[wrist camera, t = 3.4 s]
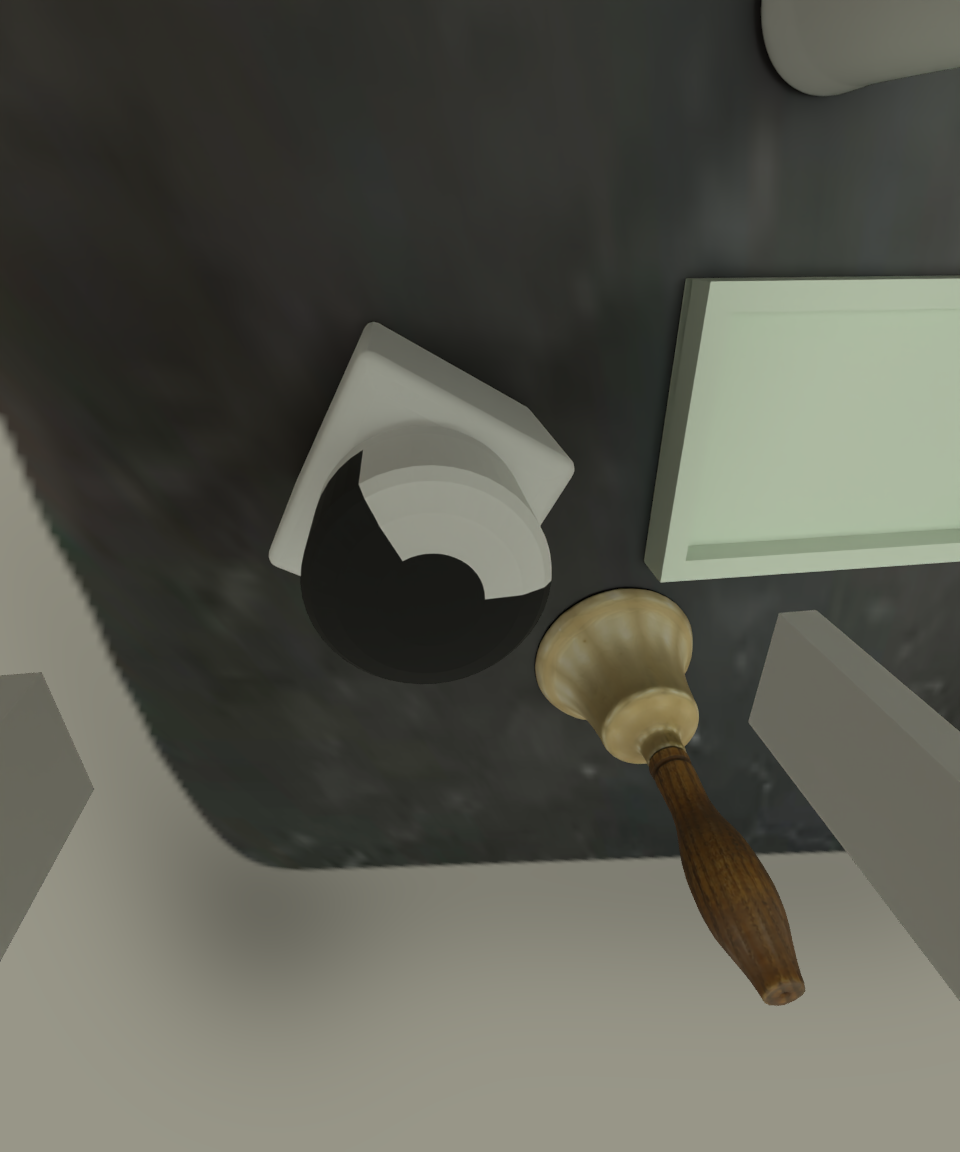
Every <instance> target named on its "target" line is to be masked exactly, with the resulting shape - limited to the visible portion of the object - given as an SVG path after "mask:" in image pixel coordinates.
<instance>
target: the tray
mask: <svg viewBox="0 0 960 1152" xmlns="http://www.w3.org/2000/svg"><path fill="white" fill-rule="evenodd" d="M957 561H960V275H941V276H851V277H760V278H686V281H685V288H684V295H683V301H682V308H681V315H680V322H679V328H678V335H677V342H676V348H675V355H674V362H673V369H672V375H671V382H670V389H669V396H668V402H667V409H666V416H665V422H664V429H663V436H662V443H661V449H660V456H659V463H658V469H657V476H656V483H655V490H654V496H653V503H652V510H651V517H650V523H649V530H648V537H647V543H646V550H645V557H644V562H645V564H646V565H647V566H648V567H649V569H650V570H651V571H652V572H653V574H654V575H655V576H656V578H657V579H658V580H659V581H660V582H674V581H688V580H702V579H716V578H730V577H744V576H759V575H773V574H787V573H801V572H815V571H829V570H843V569H858V568H872V567H886V566H900V565H914V564H928V563H942V562H957Z"/></svg>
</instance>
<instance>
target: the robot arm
mask: <svg viewBox="0 0 960 1152" xmlns="http://www.w3.org/2000/svg"><path fill="white" fill-rule="evenodd" d="M749 724H750V725H751V726H752V728H753V729H754V730H755V732H756V733H757V734H758V736H759V737H760V738H761V740H762V741H763V742H764V743H765V745H766V746H767V747H768V749H769V750H770V751H771V753H772V754H773V755H774V757H775V758H776V759H777V761H778V762H779V763H780V765H781V766H782V767H783V769H784V770H785V771H786V772H787V774H788V775H789V776H790V778H791V779H792V780H793V782H794V783H795V784H796V786H797V787H798V788H799V790H800V791H801V792H802V794H803V795H804V796H805V798H806V799H807V800H808V802H809V803H810V804H811V805H812V807H813V808H814V809H815V811H816V812H817V813H818V815H819V816H820V817H821V819H822V820H823V821H824V823H825V824H826V825H827V827H828V828H829V829H830V831H831V832H832V833H833V834H834V836H835V837H836V838H837V840H838V841H839V842H840V844H841V845H842V846H843V848H844V849H845V850H846V852H847V853H848V854H849V856H850V857H851V858H852V860H853V861H854V862H855V864H856V865H857V866H858V867H859V869H860V870H861V871H862V873H863V874H864V875H865V877H866V878H867V879H868V881H869V882H870V883H871V884H872V886H873V887H874V889H875V890H876V891H877V892H878V894H879V895H880V896H881V898H882V899H883V900H884V902H885V903H886V904H887V906H888V907H889V908H890V910H891V911H892V912H893V914H894V915H895V916H896V918H897V919H898V920H899V921H900V923H901V924H902V926H903V927H904V928H905V929H906V931H907V932H908V933H909V935H910V936H911V937H912V939H913V940H914V941H915V943H916V944H917V945H918V946H919V948H920V949H921V951H922V952H923V953H924V955H925V956H926V957H927V958H928V960H929V961H930V962H931V964H932V965H933V966H934V968H935V969H936V970H937V971H938V973H939V974H940V976H941V977H942V978H943V980H944V981H945V982H946V983H947V985H948V986H949V988H950V989H951V990H952V991H953V993H954V994H955V995H956V997H957V998H958V999H959V1001H960V732H959V731H958V730H957V729H956V728H955V727H953V726H952V725H951V724H950V723H949V722H948V721H946V720H945V719H944V718H943V717H942V716H940V715H939V714H938V713H937V712H936V711H935V710H933V709H932V708H931V707H930V706H929V705H927V704H926V703H925V702H924V701H923V700H922V699H920V698H919V697H918V696H917V695H916V694H915V693H913V692H912V691H911V690H910V689H909V688H907V687H906V686H905V685H904V684H903V683H902V682H900V681H899V680H898V679H897V678H896V677H894V676H893V675H892V674H891V673H890V672H889V671H887V670H886V669H885V668H884V667H883V666H881V665H880V664H879V663H878V662H877V661H876V660H874V659H873V658H872V657H871V656H870V655H869V654H867V653H866V652H865V651H864V650H863V649H861V648H860V647H859V646H858V645H857V644H856V643H854V642H853V641H852V640H851V639H850V638H848V637H847V636H846V635H845V634H844V633H843V632H841V631H840V630H839V629H838V628H837V627H835V626H834V625H833V624H832V623H831V622H830V621H828V620H827V619H826V618H825V617H824V616H823V615H821V614H820V613H819V612H818V611H817V610H811V611H798V612H786V613H779V615H778V618H777V622H776V626H775V629H774V633H773V636H772V640H771V643H770V647H769V651H768V654H767V658H766V661H765V665H764V668H763V672H762V675H761V679H760V683H759V686H758V690H757V693H756V697H755V700H754V704H753V708H752V711H751V715H750V718H749ZM93 790H94V788H93V786H92V783H91V781H90V779H89V777H88V774H87V772H86V770H85V768H84V766H83V763H82V761H81V759H80V757H79V754H78V752H77V750H76V748H75V746H74V743H73V741H72V739H71V737H70V734H69V732H68V730H67V728H66V725H65V723H64V721H63V719H62V717H61V714H60V712H59V710H58V708H57V706H56V703H55V701H54V699H53V697H52V695H51V692H50V690H49V688H48V685H47V684H46V681H45V679H44V677H43V675H42V673H41V672H39V673H26V674H14V675H2V676H0V961H1V959H2V957H3V955H4V954H5V952H6V949H7V948H8V946H9V944H10V943H11V941H12V939H13V937H14V935H15V933H16V932H17V930H18V928H19V926H20V924H21V922H22V921H23V919H24V917H25V915H26V913H27V911H28V909H29V908H30V906H31V904H32V902H33V900H34V898H35V896H36V895H37V892H38V891H39V889H40V887H41V886H42V884H43V882H44V880H45V878H46V876H47V874H48V873H49V871H50V869H51V867H52V865H53V864H54V862H55V860H56V858H57V856H58V854H59V853H60V851H61V849H62V847H63V845H64V843H65V842H66V840H67V838H68V836H69V834H70V832H71V830H72V829H73V827H74V825H75V823H76V821H77V819H78V818H79V816H80V814H81V812H82V810H83V808H84V807H85V805H86V803H87V801H88V799H89V797H90V796H91V793H92V792H93Z"/></svg>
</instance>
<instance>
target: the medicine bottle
mask: <svg viewBox="0 0 960 1152" xmlns="http://www.w3.org/2000/svg"><path fill="white" fill-rule="evenodd" d="M573 473H574V464H573V462H572V460H571V459H570V458H569V457H568V455H567V454H566V453H565V452H564V451H563V449H562V448H561V447H560V446H559V445H558V443H557V442H556V441H555V440H554V438H553V437H552V436H551V435H550V434H549V432H548V431H547V430H546V429H545V428H544V426H543V425H542V424H541V423H540V422H539V420H538V419H537V418H536V417H535V415H534V414H533V413H532V412H531V411H530V410H529V409H528V408H527V407H526V406H524V405H522V404H521V403H519V402H517V401H515V400H513V399H512V398H510V397H508V396H506V395H505V394H503V393H501V392H499V391H498V390H496V389H494V388H492V387H491V386H489V385H487V384H485V383H483V382H482V381H480V380H478V379H476V378H475V377H473V376H471V375H469V374H468V373H466V372H464V371H462V370H461V369H459V368H457V367H455V366H453V365H452V364H450V363H448V362H446V361H445V360H443V359H441V358H439V357H438V356H436V355H434V354H432V353H431V352H429V351H427V350H425V349H423V348H422V347H420V346H418V345H416V344H415V343H413V342H411V341H409V340H408V339H406V338H404V337H402V336H400V335H399V334H397V333H395V332H393V331H392V330H390V329H388V328H386V327H385V326H383V325H381V324H379V323H376V322H371V323H368V324H367V325H366V326H365V328H364V330H363V332H362V334H361V337H360V339H359V341H358V343H357V346H356V348H355V350H354V352H353V355H352V357H351V359H350V361H349V364H348V366H347V368H346V370H345V373H344V375H343V377H342V379H341V382H340V384H339V386H338V388H337V391H336V393H335V395H334V397H333V400H332V402H331V404H330V406H329V409H328V411H327V413H326V415H325V418H324V420H323V422H322V424H321V427H320V429H319V431H318V433H317V436H316V438H315V440H314V442H313V445H312V447H311V449H310V451H309V454H308V456H307V458H306V460H305V463H304V465H303V467H302V469H301V472H300V474H299V476H298V478H297V481H296V483H295V486H294V489H293V491H292V494H291V496H290V499H289V501H288V504H287V506H286V509H285V512H284V514H283V517H282V519H281V522H280V524H279V527H278V530H277V532H276V535H275V537H274V540H273V542H272V545H271V548H270V550H269V559H270V561H271V563H272V564H273V565H275V566H276V567H278V568H281V569H284V570H286V571H289V572H291V573H294V574H296V575H299V576H301V590H302V597H303V601H304V604H305V608H306V611H307V614H308V616H309V618H310V620H311V622H312V624H313V626H314V628H315V629H316V630H317V632H318V633H319V635H320V636H321V638H322V639H323V640H324V641H325V642H326V643H327V644H328V645H329V647H330V648H331V649H332V650H333V651H334V652H336V653H337V654H338V655H339V656H341V657H342V658H343V659H344V660H346V661H347V662H349V663H351V664H352V665H354V666H356V667H357V668H359V669H361V670H363V671H366V672H368V673H370V674H372V675H375V676H378V677H382V678H385V679H388V680H393V681H398V682H403V683H413V684H436V683H442V682H449V681H454V680H457V679H461V678H465V677H468V676H470V675H473V674H476V673H478V672H480V671H482V670H484V669H486V668H488V667H490V666H492V665H494V664H495V663H497V662H498V661H500V660H501V659H503V658H504V657H506V656H507V655H508V654H510V653H511V652H512V651H513V650H514V649H515V648H517V647H518V646H519V645H520V644H521V643H522V641H523V640H524V639H525V638H526V637H527V636H528V635H529V633H530V632H531V631H532V629H533V628H534V626H535V625H536V623H537V622H538V620H539V618H540V616H541V614H542V612H543V610H544V607H545V604H546V602H547V599H548V596H549V590H550V585H551V570H552V565H551V558H550V551H549V547H548V544H547V541H546V537H545V535H544V533H543V531H542V529H541V527H540V525H541V524H542V522H543V521H544V519H545V518H546V516H547V515H548V513H549V511H550V510H551V508H552V507H553V505H554V504H555V502H556V501H557V499H558V497H559V496H560V494H561V493H562V491H563V490H564V488H565V487H566V485H567V483H568V482H569V480H570V479H571V477H572V476H573Z"/></svg>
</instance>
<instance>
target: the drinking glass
mask: <svg viewBox="0 0 960 1152" xmlns="http://www.w3.org/2000/svg"><path fill="white" fill-rule="evenodd" d="M761 24H762V33H763V38H764V43H765V46H766V50H767V53H768V55H769V58H770V60H771V62H772V64H773V66H774V68H775V69H776V71H777V72H778V74H779V75H780V76H781V77H782V78H783V79H784V80H785V81H786V82H787V83H788V84H789V85H791V86H792V87H793V88H795V89H797V90H798V91H800V92H803V93H806V94H809V95H814V96H835V95H840V94H844V93H848V92H851V91H854V90H857V89H860V88H863V87H866V86H869V85H873V84H876V83H881V82H886V81H891V80H896V79H902V78H907V77H912V76H917V75H923V74H928V73H933V72H939V71H944V70H950V69H955V68H960V0H762V1H761Z"/></svg>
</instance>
